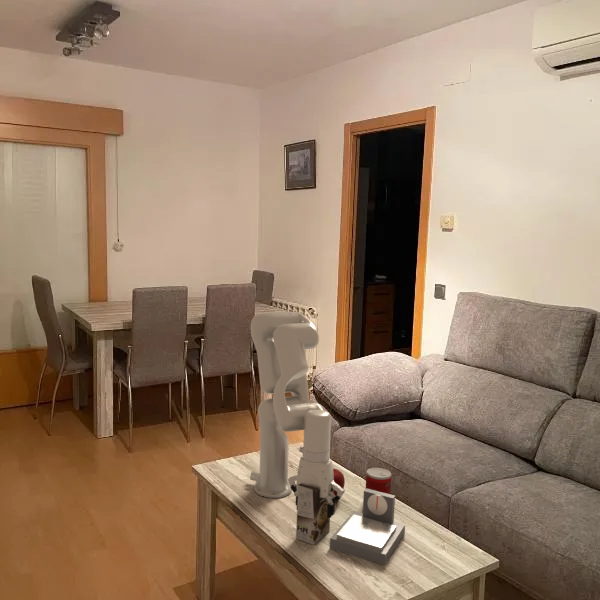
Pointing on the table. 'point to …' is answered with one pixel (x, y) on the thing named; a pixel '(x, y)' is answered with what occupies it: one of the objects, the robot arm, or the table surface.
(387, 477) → the canned food
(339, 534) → the scale pan
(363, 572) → the table surface
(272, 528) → the table surface
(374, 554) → the base
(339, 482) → the apple
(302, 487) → the coffee box
